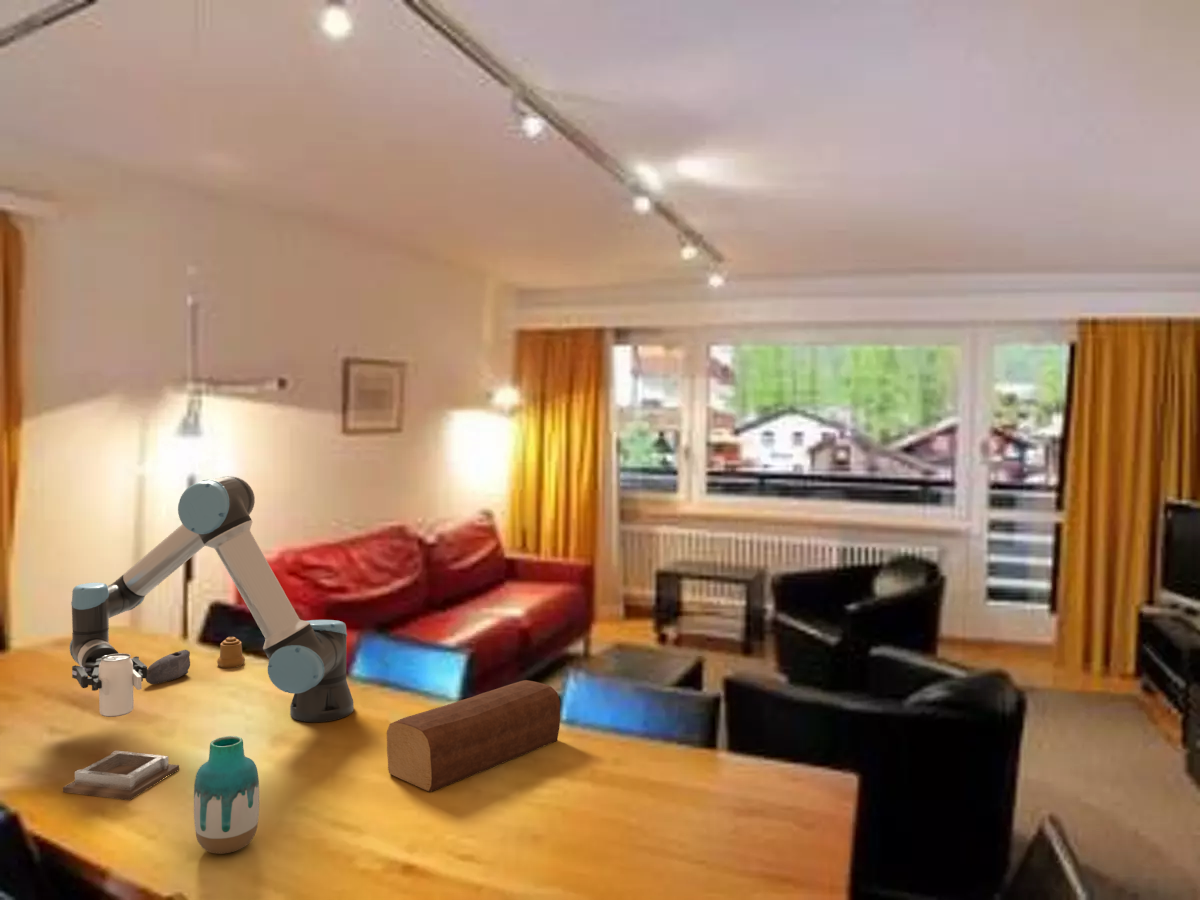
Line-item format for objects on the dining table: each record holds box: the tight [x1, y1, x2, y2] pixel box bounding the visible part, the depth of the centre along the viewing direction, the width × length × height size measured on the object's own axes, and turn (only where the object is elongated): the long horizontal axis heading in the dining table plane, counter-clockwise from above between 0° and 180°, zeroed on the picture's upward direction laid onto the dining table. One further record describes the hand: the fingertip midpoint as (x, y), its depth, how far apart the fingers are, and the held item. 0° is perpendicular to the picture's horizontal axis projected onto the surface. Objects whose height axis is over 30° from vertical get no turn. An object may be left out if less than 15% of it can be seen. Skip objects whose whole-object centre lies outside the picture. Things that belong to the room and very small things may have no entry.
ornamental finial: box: [216, 636, 246, 669], centre depth 269 cm, size 8×8×8 cm
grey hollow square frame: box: [74, 750, 169, 791], centre depth 189 cm, size 13×11×2 cm
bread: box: [386, 679, 561, 793], centre depth 204 cm, size 16×39×13 cm, turn 140°
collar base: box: [62, 763, 180, 801], centre depth 189 cm, size 15×15×1 cm
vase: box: [193, 735, 260, 855], centre depth 161 cm, size 11×11×19 cm
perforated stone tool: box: [144, 649, 191, 685], centre depth 254 cm, size 15×5×7 cm, turn 157°
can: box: [98, 652, 135, 718], centre depth 197 cm, size 6×6×12 cm
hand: (123, 685), depth 193 cm, fingers closed on can, 5 cm apart
